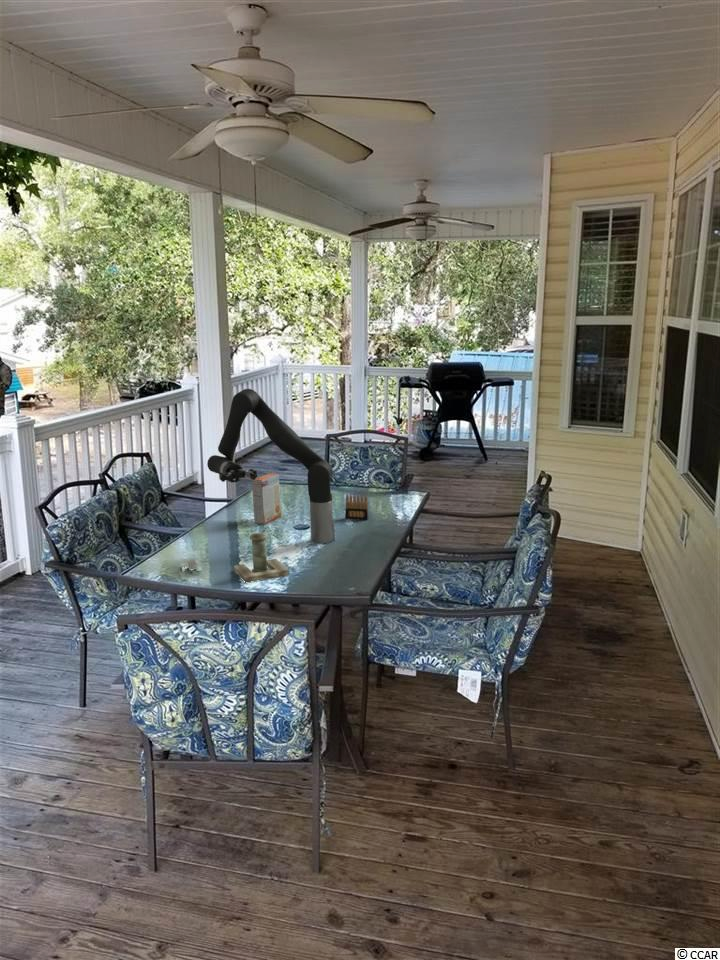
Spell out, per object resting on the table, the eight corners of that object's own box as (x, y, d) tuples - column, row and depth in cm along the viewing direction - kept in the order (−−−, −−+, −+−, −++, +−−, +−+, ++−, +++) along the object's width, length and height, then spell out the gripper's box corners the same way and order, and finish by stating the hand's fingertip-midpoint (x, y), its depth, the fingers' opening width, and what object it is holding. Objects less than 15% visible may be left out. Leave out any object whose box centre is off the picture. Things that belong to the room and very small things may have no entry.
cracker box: (271, 515, 332) (269, 472, 327) (281, 517, 329) (279, 473, 325) (253, 523, 320) (251, 478, 315) (264, 525, 317) (262, 480, 313)
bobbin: (265, 568, 262) (264, 532, 259) (271, 573, 257) (270, 536, 253) (249, 571, 259) (247, 534, 256) (254, 576, 254) (253, 539, 251)
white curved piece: (177, 569, 263) (176, 559, 262) (197, 565, 268) (196, 554, 267) (186, 576, 256) (185, 565, 255) (206, 571, 261) (206, 560, 260)
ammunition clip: (345, 518, 325) (344, 493, 323) (346, 517, 327) (345, 492, 324) (367, 520, 323) (367, 494, 320) (368, 519, 324) (368, 493, 322)
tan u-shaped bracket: (276, 563, 267) (275, 558, 266) (289, 575, 254) (289, 569, 254) (234, 570, 260) (233, 565, 259) (245, 583, 247) (245, 577, 247)
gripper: (213, 464, 281) (224, 471, 267) (247, 460, 287) (260, 466, 273) (214, 482, 283) (226, 490, 268) (248, 478, 289) (261, 485, 275)
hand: (243, 478), depth 271 cm, fingers open, 8 cm apart
